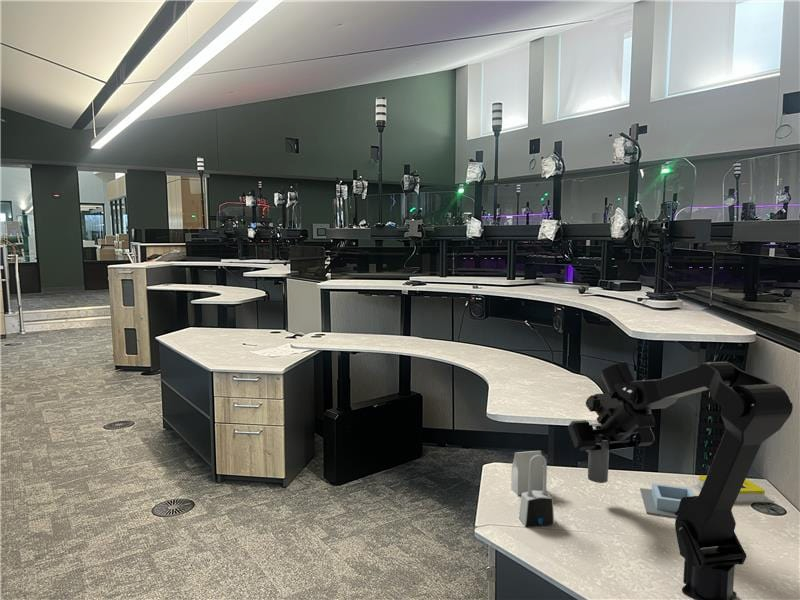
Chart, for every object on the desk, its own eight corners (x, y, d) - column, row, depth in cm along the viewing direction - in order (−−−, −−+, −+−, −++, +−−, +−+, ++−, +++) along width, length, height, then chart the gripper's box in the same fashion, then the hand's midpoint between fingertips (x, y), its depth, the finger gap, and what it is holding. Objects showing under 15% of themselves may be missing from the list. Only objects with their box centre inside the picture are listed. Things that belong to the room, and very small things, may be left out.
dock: (712, 523, 112) (713, 510, 112) (646, 513, 117) (647, 500, 116) (699, 497, 125) (699, 485, 125) (640, 489, 129) (640, 477, 129)
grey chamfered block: (543, 493, 127) (544, 453, 126) (517, 495, 125) (518, 455, 124) (536, 486, 130) (537, 448, 129) (511, 489, 129) (512, 450, 128)
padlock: (546, 515, 115) (548, 450, 114) (555, 525, 111) (557, 457, 110) (518, 518, 114) (519, 452, 113) (525, 528, 110) (527, 459, 109)
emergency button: (691, 470, 131) (749, 470, 132) (690, 487, 132) (748, 486, 132) (714, 486, 122) (776, 486, 123) (713, 504, 122) (775, 504, 123)
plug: (611, 479, 121) (613, 427, 120) (601, 484, 118) (603, 431, 117) (594, 473, 125) (595, 422, 124) (584, 478, 122) (585, 426, 121)
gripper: (648, 383, 118) (617, 416, 129) (573, 386, 114) (548, 420, 126) (671, 428, 111) (636, 459, 122) (591, 433, 107) (563, 464, 119)
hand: (595, 449), depth 122 cm, fingers closed on plug, 4 cm apart
